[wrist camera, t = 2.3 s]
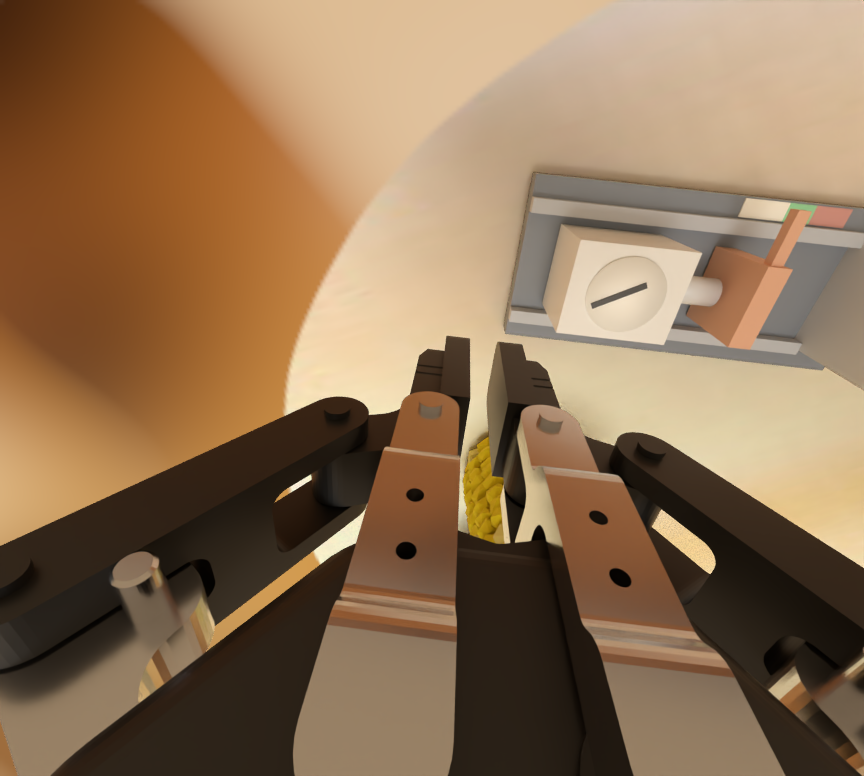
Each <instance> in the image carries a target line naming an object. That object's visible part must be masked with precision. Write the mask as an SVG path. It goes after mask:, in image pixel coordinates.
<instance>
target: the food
mask: <svg viewBox="0 0 864 776" xmlns="http://www.w3.org/2000/svg"><path fill="white" fill-rule="evenodd" d="M463 483H464V492H463V493H464V494H465V497H464V499H465V503H466V506H467V509H466V512H465V513H466V515H467V516H468V518H467V522H468V528H469V531H470V534H469V535H472V536H475V537H478V538H481V539H484V540H487V541H490V542H493V543H497V544H505V543H504V533H503V523H502V513H501V503H500V497H501V493H502V489H503V485H504V479H503V478H502V477H494V476H492V470H491V457H490V443H489V437H487V438H486V439H484V440H483V441H482V442H480V443H479V444H477V449H474V450H471V451H469V456H468V463H467V466H466V468H465V474H464V478H463Z"/></svg>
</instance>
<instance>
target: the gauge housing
mask: <svg viewBox="0 0 864 776" xmlns="http://www.w3.org/2000/svg"><path fill="white" fill-rule="evenodd" d="M701 255H702V253H701V252H699V251H697V250H694V249H692V248H690V247H688V246H685V245H683V244H681V243H679V242H676V241H674V240H672V239H669V238H667V237H665V236H663V235H658V234H649V233H640V232H631V231H622V230H613V229H604V228H595V227H585V226H576V225H567V224H561V227H560V231H559V235H558V239H557V243H556V248H555V252H554V256H553V260H552V264H551V269H550V273H549V277H548V281H547V285H546V290H545V294H544V298H543V302H542V304H543V306H544V309H545V311H546V313H547V315H548V317H549V319H550V321H551V323H552V325H553V327H554V329H555V331H556V333H563V334H572V335H581V336H589V337H598V338H607V339H615V340H624V341H633V342H641V343H650V344H659V345H664V343H665V341H666V339H667V336H668V334H669V332H670V329H671V327H672V324H673V322H674V320H675V317H676V315H677V312H678V310H679V308H680V305H681V304H690V305H699V306H708V307H711V306H713V305H715V304H716V303H717V301H718V300H719V298H720V296H721V294H722V288H723V286H722V282H721V280H720V279H717V278H708V277H699V276H693V274H694V272H695V269H696V267H697V265H698V262H699V260H700V257H701Z"/></svg>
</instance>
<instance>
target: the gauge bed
mask: <svg viewBox="0 0 864 776" xmlns="http://www.w3.org/2000/svg"><path fill="white" fill-rule="evenodd" d="M790 209H799V210H806V211H812V213H811V215H810V217H809V219H808V221H807V223H806V225H805V226H804V228H803V230H802V232H801V234H800V236H799V238H798V240H797V242H796V244H795V245H794V247H793V249H792V251H791V253H790V255H789V257H788V259H787V261H786V263H785V264H784V266H785V267H788V268H790V269H793V271H792V273H791V274H790V276H789V278H788V280H787V282H786V284H785V286H784V287H783V289H782V291H781V293H780V295H779V297H778V298H777V300H776V302H775V304H774V306H773V308H772V310H771V311H770V313H769V315H768V317H767V319H766V321H765V323H764V324H763V326H762V328H761V330H760V332H759V334H758V335H757V337H756V339H755V341H754V343H753V345H752V347H751V348H750V350H747V349H739V348H730V347H727V346H726V345H724V344H723V343H722V342H720V341H719V340H718V339H716V338H715V337H714V336H712V335H711V334H710V333H708V332H707V331H706V330H704V329H703V328H702V327H701V326H699V325H698V324H697V323H695V322H694V321H693V320H691V319H690V318H689V317H687V316H686V314H687V312H688V310H689V308H690V304H681V305H680V308H679V310H678V312H677V315H676V317H675V320H674V322H673V324H672V327H671V329H670V332H669V334H668V336H667V339H666V341H665V343H664V345H659V344H650V343H641V342H633V341H624V340H615V339H607V338H598V337H589V336H581V335H572V334H563V333H556V331H555V329H554V327H553V325H552V323H551V321H550V319H549V317H548V315H547V313H546V311H545V309H544V306H543V304H542V302H543V298H544V294H545V290H546V285H547V281H548V277H549V273H550V269H551V264H552V260H553V256H554V252H555V248H556V243H557V239H558V235H559V231H560V227H561V224H567V225H576V226H585V227H595V228H604V229H613V230H622V231H631V232H640V233H649V234H658V235H663V236H665V237H667V238H669V239H672V240H674V241H676V242H679V243H681V244H683V245H685V246H688V247H690V248H692V249H694V250H697V251H699V252H701V253H702V255H701V257H700V260H699V262H698V265H697V267H696V269H695V272H694V274H693V276H699V277H703V275H704V273H705V270H706V268H707V266H708V264H709V261H710V259H711V257H712V254H713V252H714V250H715V247H716V246H718V247H727V248H736V249H739V250H741V251H744V252H747V253H750V254H752V255H755V256H758V257H760V258H763V259H766V257H767V255H768V253H769V251H770V249H771V247H772V245H773V243H774V241H775V239H776V237H777V235H778V233H779V231H780V229H781V227H782V225H783V223H784V221H785V219H786V217H787V215H788V213H789V211H790ZM504 331H505V334H512V335H520V336H529V337H538V338H546V339H555V340H564V341H572V342H581V343H590V344H598V345H607V346H616V347H624V348H633V349H642V350H650V351H659V352H668V353H676V354H685V355H694V356H702V357H711V358H720V359H728V360H737V361H746V362H754V363H763V364H772V365H780V366H789V367H798V368H806V369H815V370H823V369H824V367H826V368H828V369H829V370H831V371H833V372H834V373H836V374H838V375H839V376H841V377H843V378H844V379H846V380H848V381H849V382H851V383H853V384H854V385H856V386H857V387H859V388H861V389H862V390H864V208H861V207H852V206H842V205H833V204H824V203H815V202H805V201H796V200H787V199H777V198H768V197H759V196H749V195H740V194H731V193H722V192H712V191H703V190H694V189H684V188H675V187H666V186H657V185H647V184H638V183H629V182H619V181H610V180H601V179H592V178H582V177H573V176H564V175H554V174H545V173H536V172H533V176H532V181H531V186H530V191H529V196H528V202H527V207H526V212H525V217H524V222H523V227H522V233H521V238H520V243H519V248H518V253H517V258H516V264H515V269H514V274H513V279H512V284H511V289H510V295H509V300H508V305H507V310H506V315H505V320H504Z"/></svg>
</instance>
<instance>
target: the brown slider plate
mask: <svg viewBox="0 0 864 776" xmlns="http://www.w3.org/2000/svg"><path fill="white" fill-rule="evenodd" d="M811 213H812V211H806V210H799V209H790V211H789V213H788V215H787V217H786V219H785V221H784V223H783V225H782V227H781V229H780V231H779V233H778V235H777V237H776V239H775V241H774V243H773V245H772V247H771V249H770V251H769V253H768V255H767V257H766V259H763V258H760V257H758V256H755V255H752V254H750V253H747V252H744V251H741V250H739V249H736V248H727V247H718V246H716V247H715V250H714V252H713V254H712V257H711V259H710V261H709V264H708V266H707V268H706V270H705V273H704V275H703V277H708V278H717V279H720V280H721V282H722V286H723V288H722V294H721V296H720V298H719V300H718V301H717V303H716V304H715V305H713V306H711V307H708V306H699V305H690V308H689V310H688V312H687V314H686V316H687V317H689V318H690V319H691V320H693V321H694V322H695V323H697V324H698V325H699V326H701V327H702V328H703V329H704V330H706V331H707V332H708V333H710V334H711V335H712V336H714V337H715V338H716V339H718V340H719V341H720V342H722V343H723V344H724V345H726V346H727V347H730V348H739V349H747V350H750V348H751V347H752V345H753V343H754V341H755V339H756V337H757V335H758V334H759V332H760V330H761V328H762V326H763V324H764V323H765V321H766V319H767V317H768V315H769V313H770V311H771V310H772V308H773V306H774V304H775V302H776V300H777V298H778V297H779V295H780V293H781V291H782V289H783V287H784V286H785V284H786V282H787V280H788V278H789V276H790V274H791V273H792V271H793V269H790V268H788V267H785V266H784V264H785V263H786V261H787V259H788V257H789V255H790V253H791V251H792V249H793V247H794V245H795V244H796V242H797V240H798V238H799V236H800V234H801V232H802V230H803V228H804V226H805V225H806V223H807V221H808V219H809V217H810V215H811Z"/></svg>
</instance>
